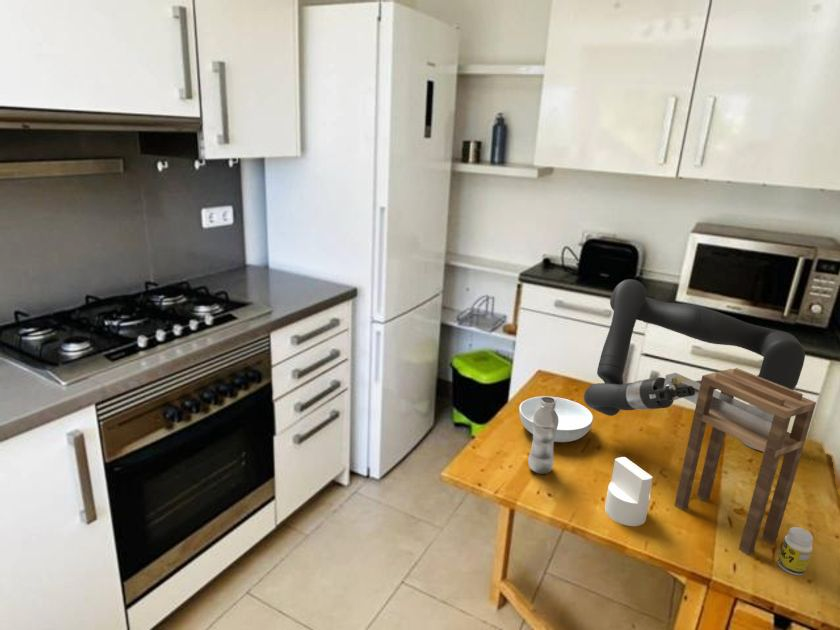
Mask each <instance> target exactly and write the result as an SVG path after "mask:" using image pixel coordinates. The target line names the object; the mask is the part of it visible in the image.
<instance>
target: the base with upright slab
mask: <svg viewBox="0 0 840 630" xmlns="http://www.w3.org/2000/svg"><path fill="white" fill-rule="evenodd" d="M653 478H654V477H653V476H652V474H649V473H648V472H647V471H645V470H644V469H642V468H641V467H640V466H639V465H637V464H636V463H634V462H633V461H631V460H630V459H629V458H627V457H626V456H621V457H619V456H618V457H616V458H615V459H614V464H613V469H612V476H611V481H610V482H609V484H608V486H607V494H606V499H605V504H604V505H605V506H604V511H605V513H606V515H607V516H608V518H610V520H612V521H615V522H616V523H618V524H621V525H624V526H629V527H637V526H641V525H643V524H644V523H645V522H646V520H647V514H648V510H649V505H650V502H651V501H650V500H651V488H652V483H653Z"/></svg>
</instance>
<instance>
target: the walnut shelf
mask: <svg viewBox="0 0 840 630" xmlns="http://www.w3.org/2000/svg"><path fill="white" fill-rule="evenodd" d="M700 380H701V384H700V389H699V394H698V398H697V403H696V404H695V408H694V413H693V419H692V423H691V427H690V432H689V435H688V437H689V438H688V441H687V447H686V451H685V456H684V461H683V464H682V467H681V468H682V469H681V473H680V478H679V483H678V487H677V491H676V492H677V493H676V497H675V502H674V506H675V507H676V508H678V509H680V510H681V511H683V510H686V509H688V507H689V503H690V498H691V495H692V490H693V485H694V480H695V477H696V472H697V467H698V463H699V459H700V455H701V454H700V453H701V449H702V445H703V440H704V436H705V432H706V428H707V427H706V426H707V425H709V426H711V427H712V428H711V433H710V438H709V441H708V445H707V446H708V447H707V451H706V455H705V459H704V464H703V468H702V472H701V477H700V481H699V486H698V490H697V495H696V497H697V498H699V499H700V500H701V501H703V502H706V501H708V500H710V499H711V496H712V495H711V494H712V491H713V486H714V482H715V479H716V474H717V469H718V466H719V461H720V458H721V457H720V456H721V453H722V447H723V445H724V444H723V443H724V440H725V435H726V434H727V435H729V436H731V437H733V438H734V439H737V440H739V441H740V442H742V443H743V442H744V443H746V444H748V445H750V446H752V447H754V448H756V449H758V450H757V451H759V450H760V452H762V453H763V455H762V460H761V464H760V467H759V471H758V475H757V478H756V482H755V485H754V486H755V487H754V490H753V493H752V497H751V501H750V505H749V509H748V512H747V516H746V520H745V524H744V528H743V531H742V535H741V539H740V541H739V542H740V543H739V547H738V550H739V551H740V552H741V553H743V554H745V555H747V556H749V555H752V554H753V553H755V548H756V545H757V540H758V538H759V537H758V536H759V534H760V531H761V527H762V523H763V518H764V516H765V513H766V509H767V505H768V502H769V497H770V495H771V489H772V486H773V483H774V479H775V476H776V472H777V469H778V465H779V461H780V458H781V456H782V455H784V456H783V460H782V463H781V466H780V470H779V474H778V478H777V481H776V485H775V487H774V491H773V495H772V499H771V503H770V506H769V510H768V513H767V517H766V521H765V524H764V529H763V532H762V535H761V539H762V540H763V541H765V542H767V543H768V544H770V545H771V544H773V543H775V542H777V539H778V536H779V532H780V530H781V524H782V522H783V519H784V514H785V511H786V509H787V504H788V501H789V498H790V494H791V492H792V487H793V485H794V482H795V477H796V473H797V470H798V468H799V462H800V460H801V458H802V457H801V456H802V453H803V449H804V446H805V442H806V440H807V439H806V438H807V436H808V433H809V428H810V425H811V422H812V419H813V415H814V412H815V408H816V405H817V402H816V401H814V400H812V399H809V398H807V397H804V394H803V393H802V392H799V391H796V390H795V389H793V390H791V389H789V388H786V387H784V386H781V385H779V384H776V383H774V382H771V381H768V380H766V379H763V378H761V377H758V375H755V374H753V373H750V372H748V371H745V370H742V369H740V368H738V367H735V368H727V369H723V370H720V371H716V372H712V373H708V374H704V375H702V376H701V379H700ZM714 388H716V389H715V390H717V391H718V390H719V392H720V393H723V394H725V395H727V396H729V397H732V398H734V397H735V398H734V399H736V398H737V400H741V401H742V402H743V401H744V403H747V404H749V403H750V404H752V405H754V406H757V407H759V408H761V409H763V410H766V411H768V412H770V413H772V414H774V417H773V421H772V425H771V429H770V433H769V436H768V438H766V437H764V436H762V435H759V434H757V433H755V432H753V431H751V430H749V429H747V428H745V427H743V426H741V425H739V424H737V423H734V422H732V421H730V420H728V419H726V418H724V417H722V416H720V415H718V414H716V413H714V412H712V411H710V405H711V401H712V396H713V392H714ZM792 417H794V420H793V424H792V427H791V431H790V432H788V428H789V425H790V421H791V418H792ZM744 443H743V444H744ZM756 449H755V450H756Z"/></svg>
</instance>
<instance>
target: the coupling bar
mask: <svg viewBox="0 0 840 630" xmlns="http://www.w3.org/2000/svg"><path fill="white" fill-rule="evenodd" d="M664 378H665V382H664V388H666V387H665V385H667V384H668V385H674V386H675V387H677V388H678V387H685V386H693V389H694V392H695V395H693V396H687V397H682V398H681V399H684V400H686V401H689V402H691V403H692V404H695V405H696V403H697V398H698V394H699V389H700V383H698V382H696V381H697V380H694V379H691V378H688V377H686V376H684V375H682V374H679V373H677V372H673V373H668V374H665V376H664ZM710 411H712V412H714V413H716V414H718V415H720V416H722V417H724V418H726V419H728V420H730V421H732V422H734V423H737V424H739V425H741V426H743V427H745V428H747V429H749V430H751V431H753V432H755V433H757V434H759V435H762V436H764V437H766V438H768V436H769V433H770V429H771V425H772V421H773V417H774V416H772V415H770V414H768V413H766V412H763V411H761V410H759V409H757V408H754V407H752V406H750V405H749V403H746V402H743V401H742V400H741V401H740V399H736V398H732V397H729V396H727V395H725V394H723V393H721V391H718V390H717V389H715V390H714V392H713V396H712V401H711V405H710Z"/></svg>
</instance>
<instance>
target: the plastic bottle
mask: <svg viewBox="0 0 840 630" xmlns="http://www.w3.org/2000/svg"><path fill="white" fill-rule="evenodd" d="M541 397H542V396H541ZM551 397H552V396H547V397H542V398H541V403H540V408H539V409H538V410H537V411H536V412H535V414H534V416H533V434H532V443H531V447H530V448H531V449H530V452H529V455H528V459H527V461H528V467H529V468H530V470H531V471H532V472H534V473H536V474H540V475H544V474H546V475H547V474H548V473H550V472H551V471H552V470H553V466H554V463H555V462H554V460H555V458H554V444H555V442H554V439H555V434H556V430H557V427H558V423H559V419H558V415H557V413H556V412H555V410H554V409H555V403H556V400H555V399H554V398H551Z"/></svg>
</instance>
